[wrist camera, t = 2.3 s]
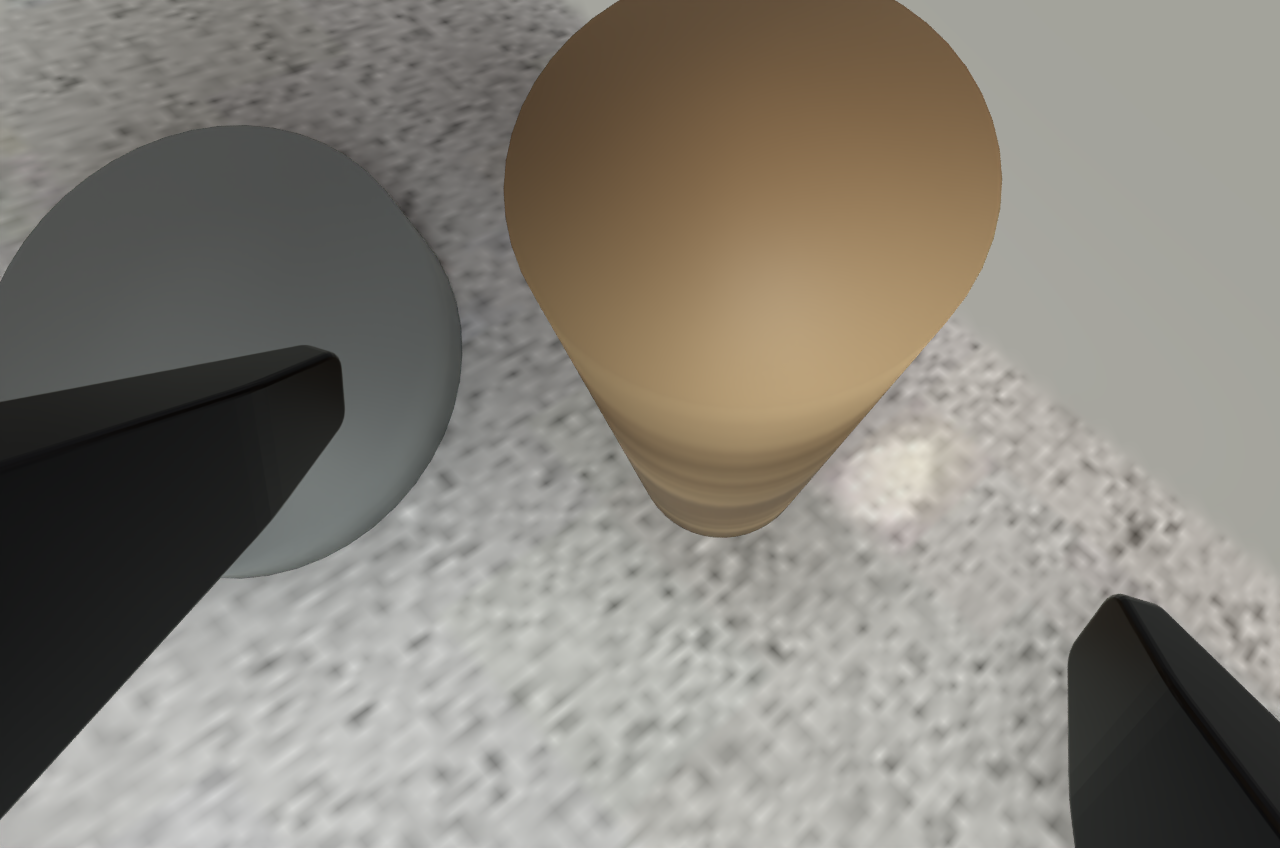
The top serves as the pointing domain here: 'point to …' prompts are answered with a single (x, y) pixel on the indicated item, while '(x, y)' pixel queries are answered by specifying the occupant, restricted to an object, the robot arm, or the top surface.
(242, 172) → the grey plinth
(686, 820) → the top surface
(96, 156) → the top surface
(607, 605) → the top surface
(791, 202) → the teak pillar
